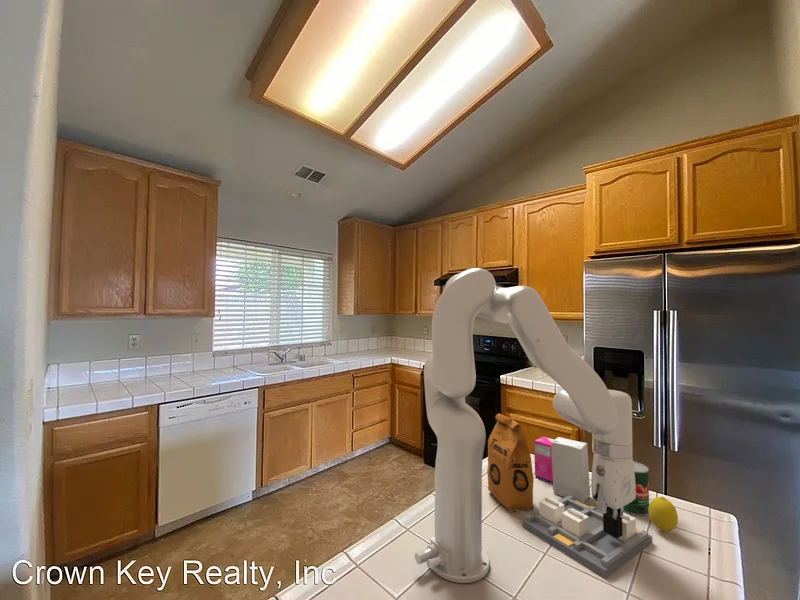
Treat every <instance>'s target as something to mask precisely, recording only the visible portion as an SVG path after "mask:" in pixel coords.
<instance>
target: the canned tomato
mask: <svg viewBox="0 0 800 600" xmlns="http://www.w3.org/2000/svg"><path fill="white" fill-rule="evenodd" d="M633 464H634V472H635V486H636V498H635V499H634V500H633V501H632V502H630V503H629V504H627V505H625V506H624V509H623V513H624V512H625V514H626V513H627V514H628V515H633V516H639V517H643V516H644V517H645V516H649V512H648V508H649V504H650V488H649V487H650V486H649V485H650V478H649V477H650V476H649V474H650V473H649V467H647V466H646V465H645V464H643V463H640V462H637V461H635V460H633Z"/></svg>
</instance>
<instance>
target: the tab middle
mask: <svg viewBox="0 0 800 600" xmlns="http://www.w3.org/2000/svg"><path fill="white" fill-rule="evenodd" d="M562 529H564V530H566V531H568V532H570V533H571V534H573V535H575V536H577V537H578V538H582V537H583V536H585V535H587V534H588V533H589V516H587V515H585V514H583V513H581V512H579V511H577V510H575V509H573V508H571V509H570V508H569V509H567V511H565V512H563V513H562Z"/></svg>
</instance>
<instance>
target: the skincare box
mask: <svg viewBox="0 0 800 600" xmlns="http://www.w3.org/2000/svg"><path fill="white" fill-rule="evenodd" d="M551 449H552V469H553V483H552V486H553V490H552V491H553V494H555V495H557V496H560V497H563V498H565V497H567V496H569V495H570V496H572V497H573V499H575V500H577V501H579V502H581V503H583V504H585V502H586V501H588V500H589V499H590V497H591V491H590V490H591V487H590V486H591V484H590V483H591V482H590V472H589V471H590V469H589V467H590V466H589V454H588V453H589V452H588V450H589V449H588V443H587V442H583V441H577V440H572V439H568V438H565V437H561V436H558V437H556V438H555V439H554V441H552V442H551Z"/></svg>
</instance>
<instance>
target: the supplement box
mask: <svg viewBox="0 0 800 600" xmlns="http://www.w3.org/2000/svg"><path fill="white" fill-rule="evenodd" d="M554 440H555V439H553V438H549V437H546V436H541V437H539V438H537V439H535V440H533V447H534V448H533V453H534V458H533V459H534V477H535V476H536V477H535V478H537V477H538V478H537V479H539V478H540V480H542V481H544V480H545V482H548V483H549V482H550V483H549V484H553V469H552V449H551V442H552V441H554Z"/></svg>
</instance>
